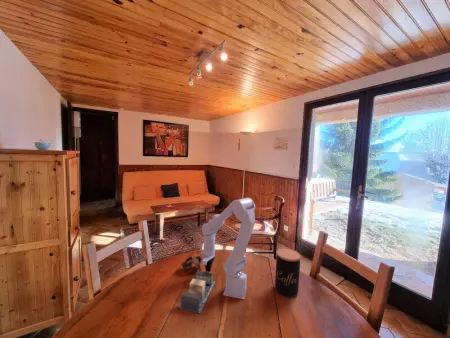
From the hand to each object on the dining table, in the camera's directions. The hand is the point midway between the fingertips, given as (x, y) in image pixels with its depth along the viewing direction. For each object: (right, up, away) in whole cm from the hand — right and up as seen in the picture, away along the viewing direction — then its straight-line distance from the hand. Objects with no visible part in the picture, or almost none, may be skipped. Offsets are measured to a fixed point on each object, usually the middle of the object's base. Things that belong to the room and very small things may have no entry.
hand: (208, 271), depth 103 cm
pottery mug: (-9, -2, +5) cm, 10 cm away
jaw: (-1, -2, -4) cm, 5 cm away
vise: (-3, -3, -13) cm, 14 cm away
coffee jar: (+38, -5, -9) cm, 39 cm away
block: (-4, -3, -14) cm, 15 cm away
